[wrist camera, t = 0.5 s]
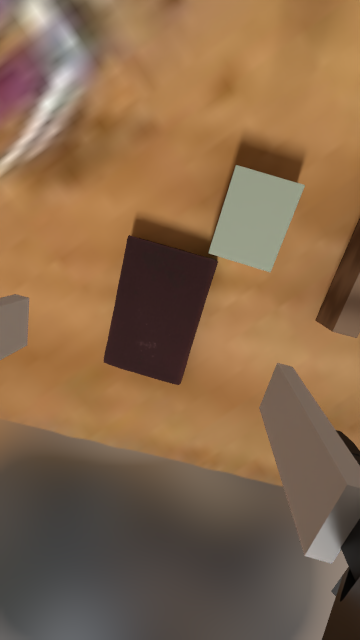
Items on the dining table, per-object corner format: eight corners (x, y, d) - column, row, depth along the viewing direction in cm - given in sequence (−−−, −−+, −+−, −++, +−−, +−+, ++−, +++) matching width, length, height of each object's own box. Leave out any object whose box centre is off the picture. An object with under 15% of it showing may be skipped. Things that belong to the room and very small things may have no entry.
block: (232, 174, 32) (236, 164, 28) (293, 192, 32) (304, 185, 28) (208, 252, 35) (208, 253, 31) (263, 269, 35) (270, 272, 31)
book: (218, 260, 35) (219, 260, 32) (181, 377, 41) (179, 388, 37) (133, 235, 35) (126, 234, 32) (108, 355, 41) (100, 364, 38)
